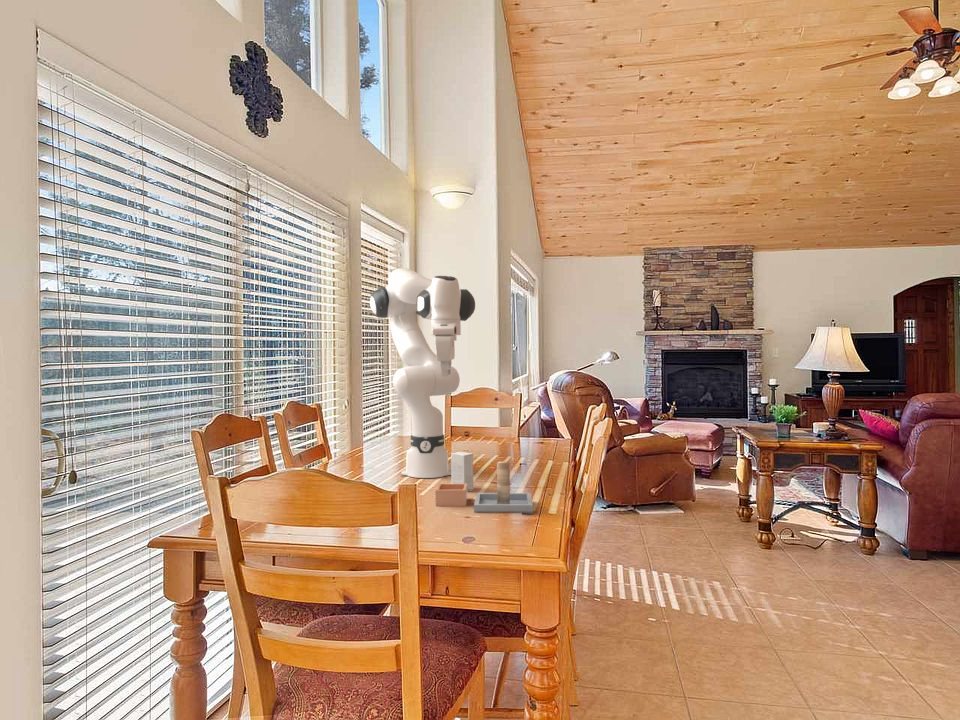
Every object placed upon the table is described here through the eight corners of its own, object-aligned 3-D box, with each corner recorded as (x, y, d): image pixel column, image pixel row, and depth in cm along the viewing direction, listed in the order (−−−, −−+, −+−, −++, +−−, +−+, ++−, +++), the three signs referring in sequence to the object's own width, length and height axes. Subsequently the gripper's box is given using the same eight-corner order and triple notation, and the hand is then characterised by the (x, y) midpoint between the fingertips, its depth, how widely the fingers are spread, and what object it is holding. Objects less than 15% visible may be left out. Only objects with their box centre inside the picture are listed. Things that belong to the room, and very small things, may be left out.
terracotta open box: (438, 500, 188) (438, 483, 188) (467, 500, 188) (467, 483, 188) (435, 507, 179) (435, 490, 179) (465, 507, 179) (465, 490, 179)
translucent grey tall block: (497, 503, 181) (496, 461, 181) (509, 503, 181) (509, 461, 181) (497, 506, 177) (496, 463, 177) (509, 506, 177) (509, 463, 177)
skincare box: (473, 491, 199) (473, 453, 199) (464, 493, 196) (464, 455, 196) (460, 488, 203) (460, 451, 203) (450, 490, 200) (450, 453, 200)
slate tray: (476, 501, 186) (476, 492, 186) (530, 501, 186) (530, 493, 186) (474, 514, 172) (474, 505, 172) (532, 514, 172) (532, 505, 172)
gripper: (439, 330, 200) (439, 373, 200) (431, 328, 179) (432, 377, 180) (458, 330, 200) (459, 373, 200) (453, 328, 179) (454, 377, 180)
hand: (446, 375), depth 190 cm, fingers open, 8 cm apart
